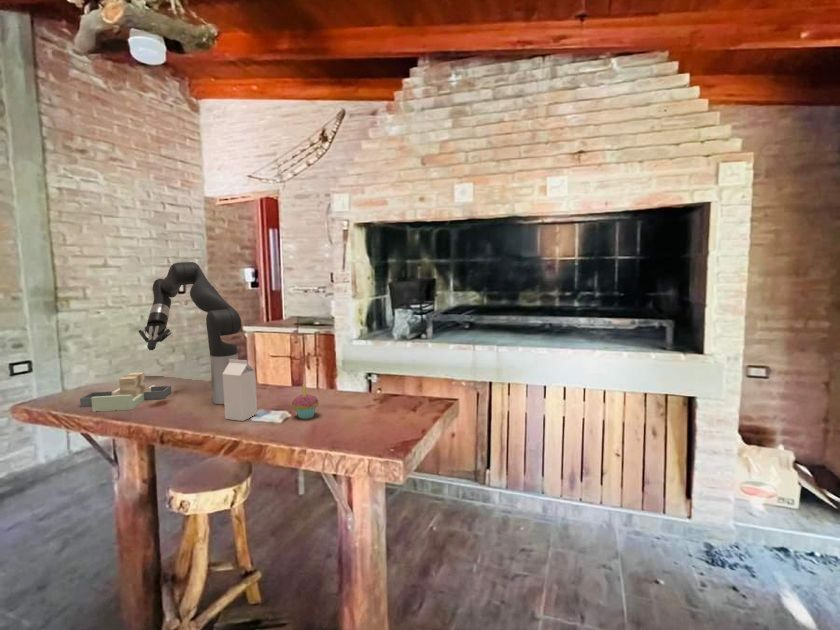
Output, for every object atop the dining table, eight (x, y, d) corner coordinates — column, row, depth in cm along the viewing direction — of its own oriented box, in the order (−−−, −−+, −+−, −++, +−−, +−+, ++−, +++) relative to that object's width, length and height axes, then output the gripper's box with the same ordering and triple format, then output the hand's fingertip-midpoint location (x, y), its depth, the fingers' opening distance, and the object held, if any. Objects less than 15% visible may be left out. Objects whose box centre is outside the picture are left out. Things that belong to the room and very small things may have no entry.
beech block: (131, 393, 193) (130, 372, 192) (145, 392, 194) (144, 372, 193) (120, 400, 183) (119, 379, 182) (135, 399, 184) (133, 378, 183)
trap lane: (101, 394, 192) (100, 381, 191) (174, 390, 196) (174, 378, 195) (70, 413, 169) (68, 398, 168) (153, 408, 173) (152, 394, 172)
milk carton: (243, 421, 158) (239, 362, 156) (225, 419, 161) (221, 361, 158) (257, 414, 165) (254, 358, 162) (240, 412, 167) (236, 357, 165)
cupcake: (318, 419, 159) (317, 383, 157) (291, 421, 158) (289, 384, 156) (319, 411, 167) (318, 376, 166) (293, 413, 166) (291, 377, 164)
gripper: (139, 311, 214) (130, 344, 203) (172, 310, 216) (165, 343, 205) (145, 322, 220) (136, 355, 209) (177, 321, 222) (170, 353, 211)
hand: (150, 349), depth 207 cm, fingers closed
